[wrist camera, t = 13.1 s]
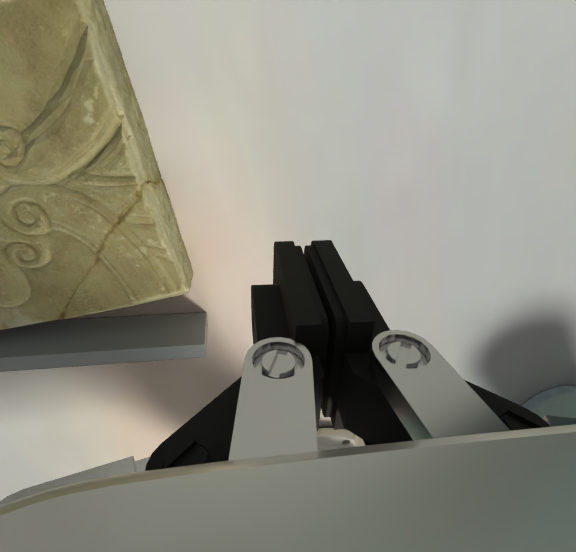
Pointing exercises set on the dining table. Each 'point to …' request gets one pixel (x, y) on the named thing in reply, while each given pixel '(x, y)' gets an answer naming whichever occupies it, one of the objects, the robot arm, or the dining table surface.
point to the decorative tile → (77, 172)
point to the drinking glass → (554, 402)
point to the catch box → (103, 341)
